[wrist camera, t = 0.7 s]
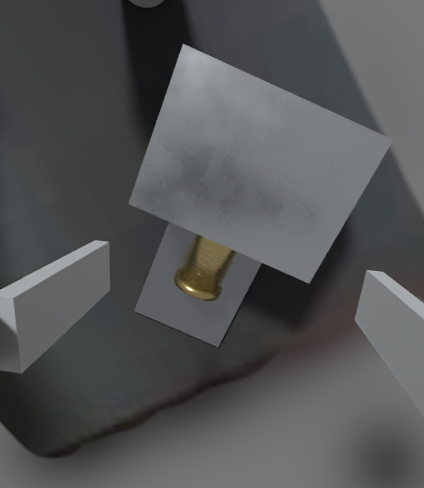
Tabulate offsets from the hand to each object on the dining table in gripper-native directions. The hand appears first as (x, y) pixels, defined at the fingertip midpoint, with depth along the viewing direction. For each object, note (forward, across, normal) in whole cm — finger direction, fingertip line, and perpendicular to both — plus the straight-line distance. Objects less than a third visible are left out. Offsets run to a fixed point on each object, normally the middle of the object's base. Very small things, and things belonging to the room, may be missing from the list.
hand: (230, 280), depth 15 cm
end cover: (+19, -2, -1) cm, 19 cm away
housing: (+20, -2, -2) cm, 20 cm away
